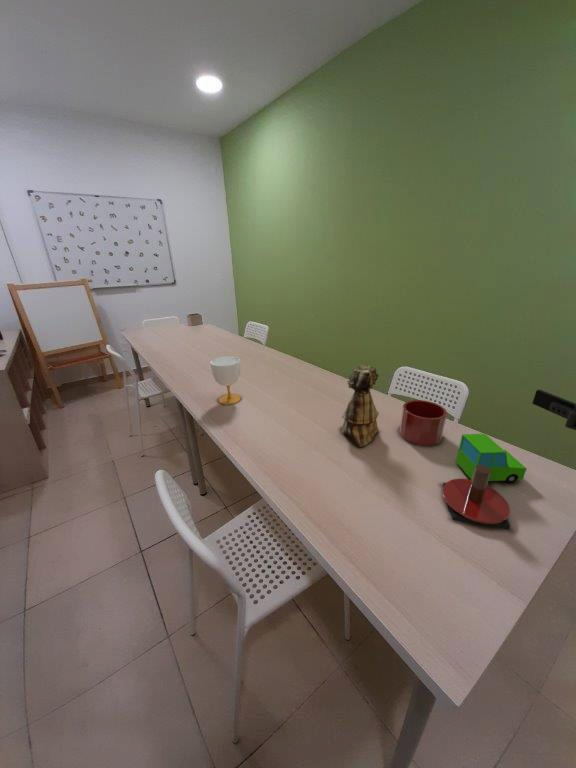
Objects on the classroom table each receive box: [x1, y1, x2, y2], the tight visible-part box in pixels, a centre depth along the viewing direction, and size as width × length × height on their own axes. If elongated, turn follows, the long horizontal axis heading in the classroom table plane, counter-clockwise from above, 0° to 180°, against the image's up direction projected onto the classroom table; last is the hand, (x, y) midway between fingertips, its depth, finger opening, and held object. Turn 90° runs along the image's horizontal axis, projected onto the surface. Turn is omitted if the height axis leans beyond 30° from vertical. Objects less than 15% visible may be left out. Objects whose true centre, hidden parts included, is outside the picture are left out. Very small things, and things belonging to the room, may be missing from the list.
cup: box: [209, 356, 241, 405], centre depth 122 cm, size 12×12×17 cm
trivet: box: [442, 482, 511, 530], centre depth 70 cm, size 11×11×1 cm
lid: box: [442, 465, 511, 524], centre depth 68 cm, size 13×13×10 cm
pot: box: [399, 399, 448, 447], centre depth 96 cm, size 13×13×10 cm
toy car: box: [455, 433, 527, 484], centre depth 78 cm, size 10×13×10 cm
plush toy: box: [340, 364, 380, 448], centre depth 95 cm, size 14×14×25 cm
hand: (564, 391), depth 56 cm, fingers open, 13 cm apart
